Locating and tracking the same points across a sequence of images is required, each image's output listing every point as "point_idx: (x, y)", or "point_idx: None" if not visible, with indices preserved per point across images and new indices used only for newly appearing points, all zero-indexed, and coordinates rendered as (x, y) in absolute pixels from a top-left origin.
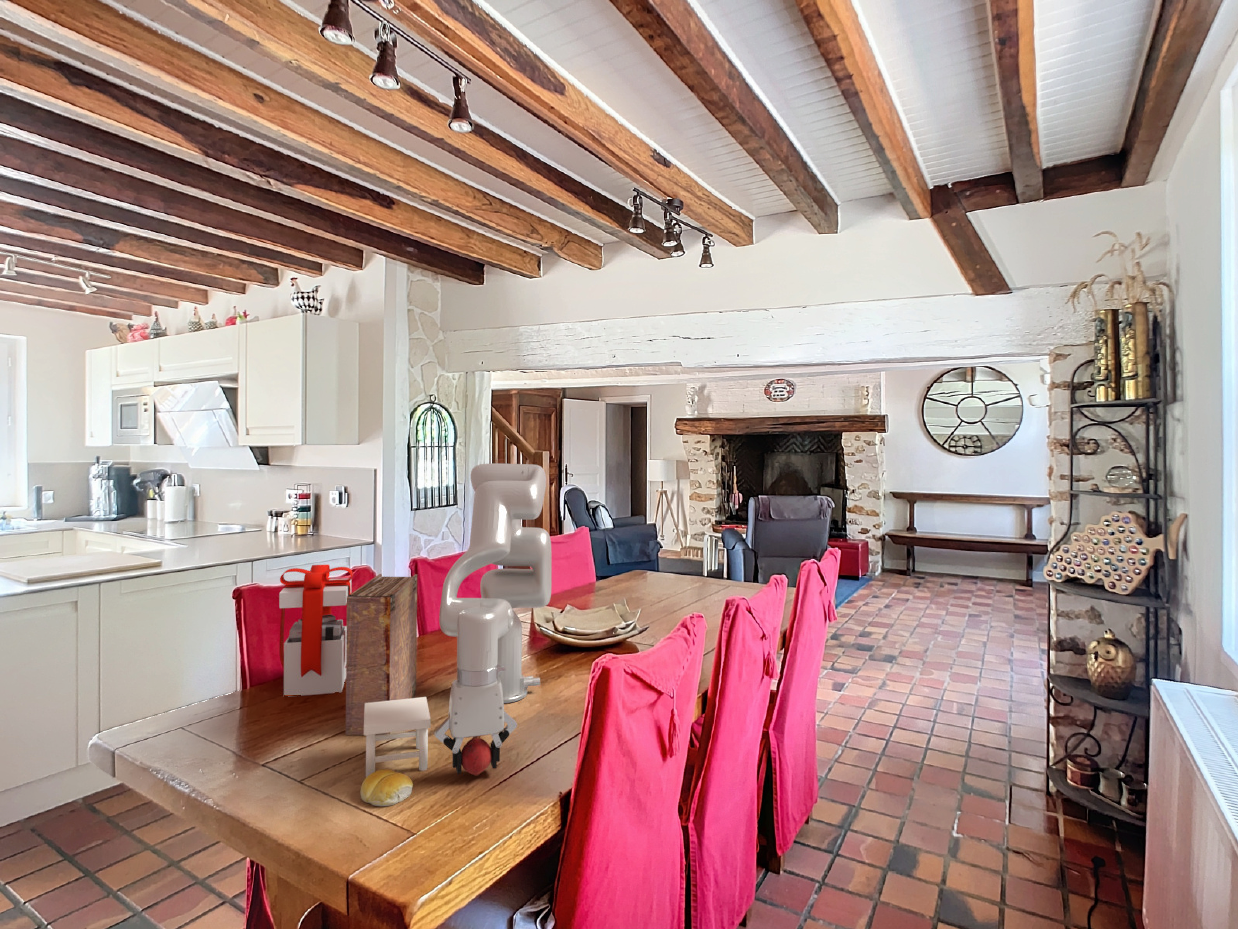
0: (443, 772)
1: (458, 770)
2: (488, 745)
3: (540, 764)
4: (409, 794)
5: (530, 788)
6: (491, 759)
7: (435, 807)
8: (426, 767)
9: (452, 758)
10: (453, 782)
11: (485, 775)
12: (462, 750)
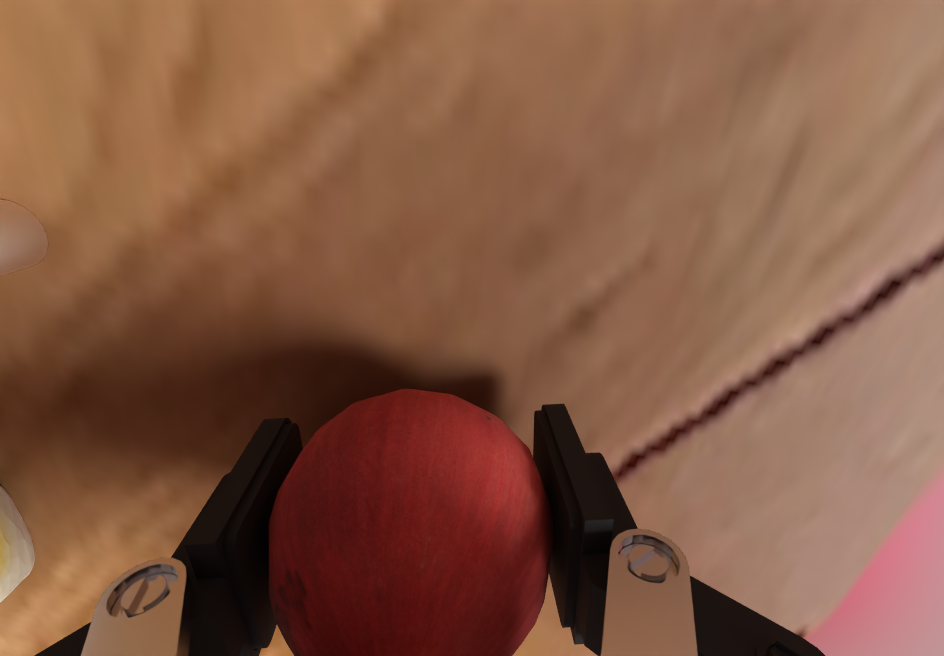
0: (195, 327)
1: None
2: (532, 624)
3: (856, 372)
4: (27, 574)
5: None
6: (541, 476)
7: None
8: (31, 261)
9: (206, 503)
10: None
11: None
12: (270, 600)
